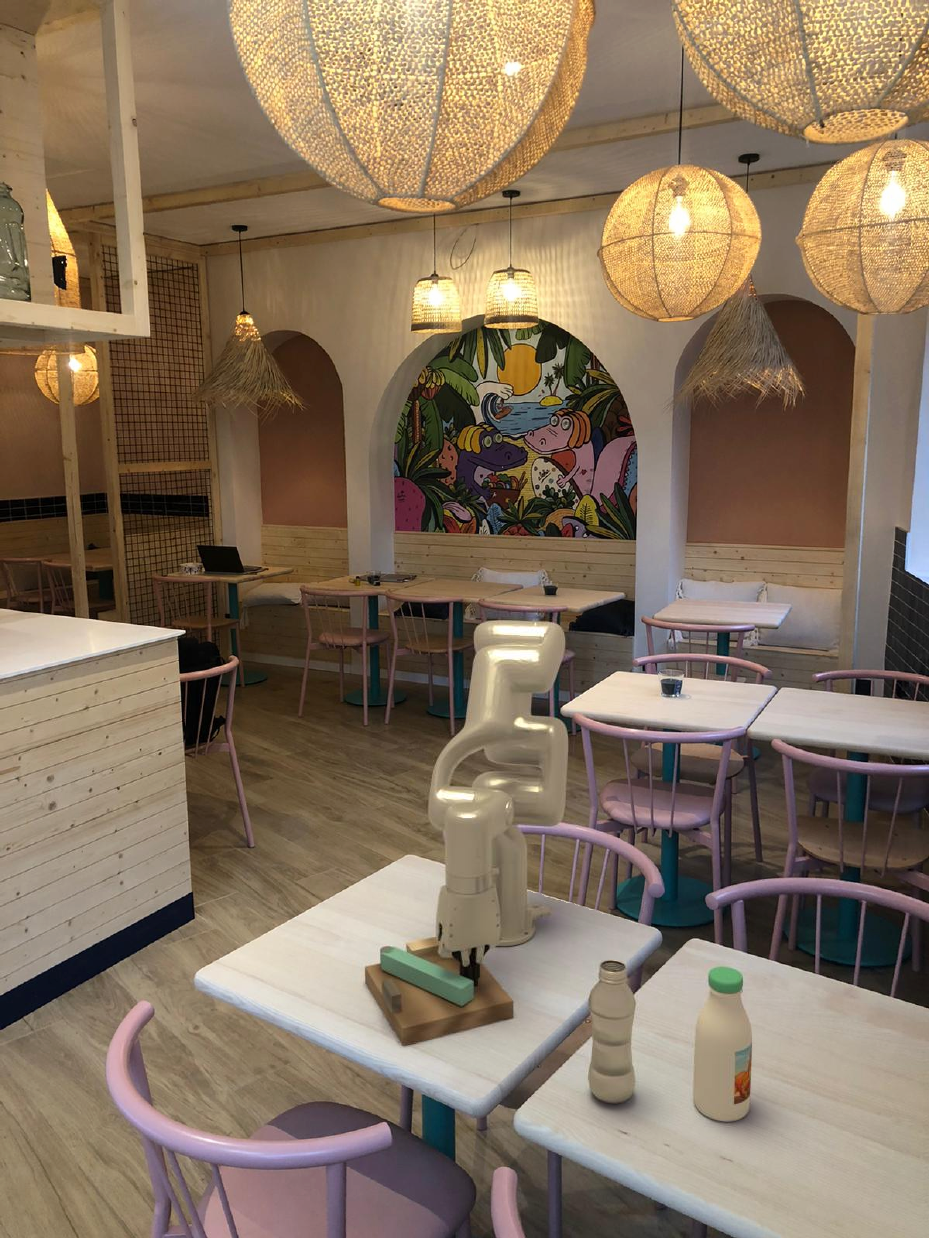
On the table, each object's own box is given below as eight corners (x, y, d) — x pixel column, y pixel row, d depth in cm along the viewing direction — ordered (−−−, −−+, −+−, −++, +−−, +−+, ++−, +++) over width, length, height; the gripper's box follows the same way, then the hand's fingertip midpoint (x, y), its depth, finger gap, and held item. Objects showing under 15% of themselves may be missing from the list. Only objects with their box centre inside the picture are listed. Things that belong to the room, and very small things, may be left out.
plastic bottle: (634, 1112, 136) (637, 980, 132) (585, 1106, 137) (586, 975, 134) (635, 1083, 142) (638, 956, 139) (589, 1078, 144) (590, 952, 140)
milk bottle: (715, 1129, 132) (720, 994, 129) (681, 1096, 139) (685, 966, 136) (761, 1114, 135) (767, 981, 132) (725, 1081, 142) (730, 954, 139)
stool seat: (465, 959, 177) (465, 928, 176) (513, 1017, 159) (513, 983, 158) (364, 982, 170) (363, 950, 169) (401, 1046, 152) (400, 1010, 151)
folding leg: (376, 966, 168) (376, 950, 168) (388, 959, 171) (388, 943, 170) (461, 1006, 156) (461, 988, 156) (473, 997, 159) (473, 980, 158)
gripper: (500, 862, 165) (501, 962, 168) (417, 878, 159) (419, 982, 162) (520, 879, 158) (520, 984, 161) (434, 897, 152) (436, 1005, 155)
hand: (469, 983), depth 162 cm, fingers closed
